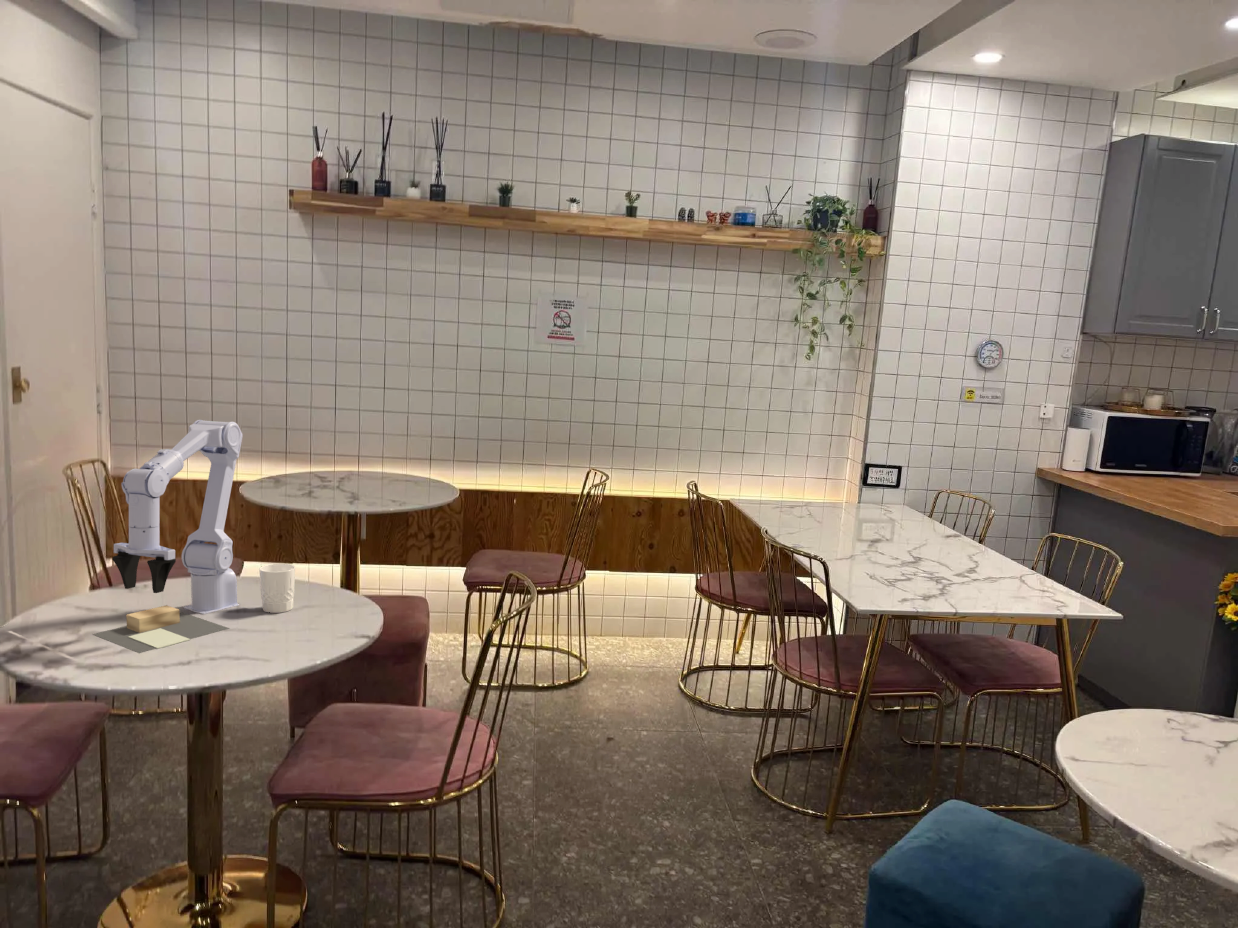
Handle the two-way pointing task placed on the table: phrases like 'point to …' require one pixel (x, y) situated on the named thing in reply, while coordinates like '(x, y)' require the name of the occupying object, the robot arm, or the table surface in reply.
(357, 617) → the table surface
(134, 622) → the oak block
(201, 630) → the rubber mat
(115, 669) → the table surface
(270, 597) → the white cup
